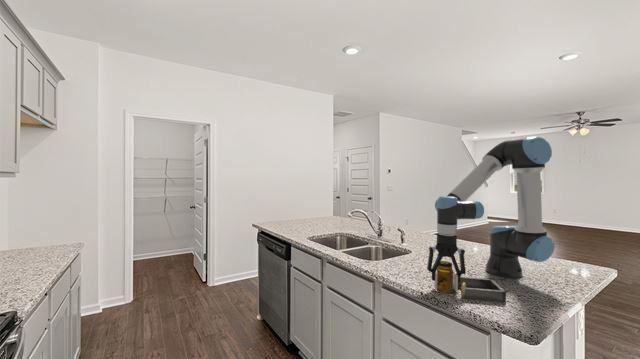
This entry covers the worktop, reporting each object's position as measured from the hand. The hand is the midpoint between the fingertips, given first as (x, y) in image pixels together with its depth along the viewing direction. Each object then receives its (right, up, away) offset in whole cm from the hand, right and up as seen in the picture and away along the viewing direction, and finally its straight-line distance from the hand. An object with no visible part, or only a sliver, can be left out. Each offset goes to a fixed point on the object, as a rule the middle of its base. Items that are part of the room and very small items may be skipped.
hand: (445, 289), depth 118 cm
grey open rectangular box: (+12, -1, -2) cm, 12 cm away
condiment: (0, -1, 0) cm, 1 cm away
